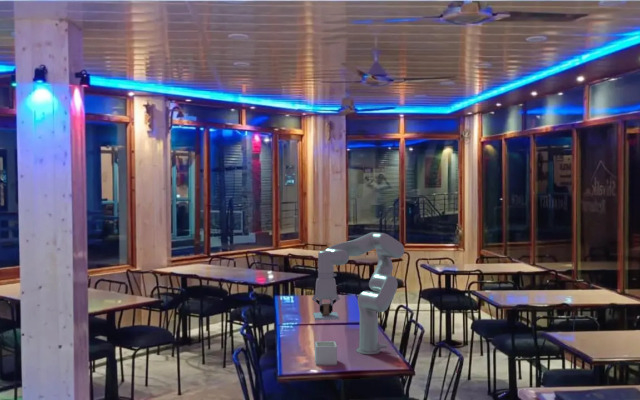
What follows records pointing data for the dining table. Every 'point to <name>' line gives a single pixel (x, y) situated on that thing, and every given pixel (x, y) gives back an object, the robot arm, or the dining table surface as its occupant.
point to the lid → (326, 313)
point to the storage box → (326, 353)
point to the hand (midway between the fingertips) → (326, 312)
